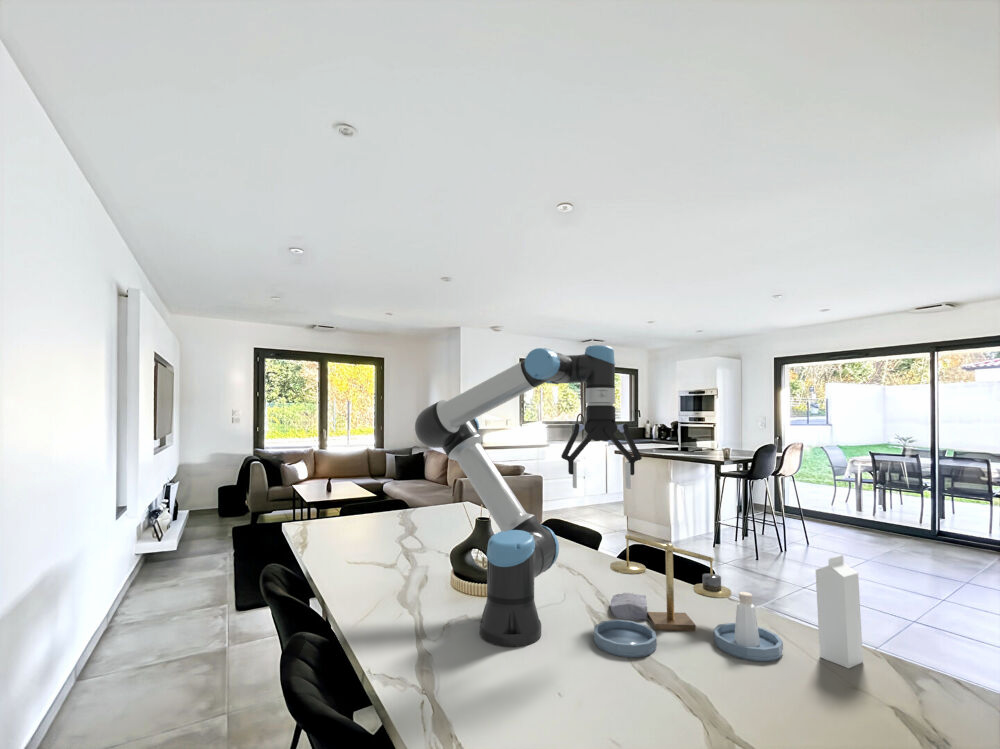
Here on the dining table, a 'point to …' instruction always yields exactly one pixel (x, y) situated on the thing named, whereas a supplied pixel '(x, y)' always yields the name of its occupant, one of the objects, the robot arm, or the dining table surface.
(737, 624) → the salt shaker
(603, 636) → the dish high side
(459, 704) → the dining table surface
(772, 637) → the dish low side
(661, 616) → the balance
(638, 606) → the stone block
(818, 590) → the milk
